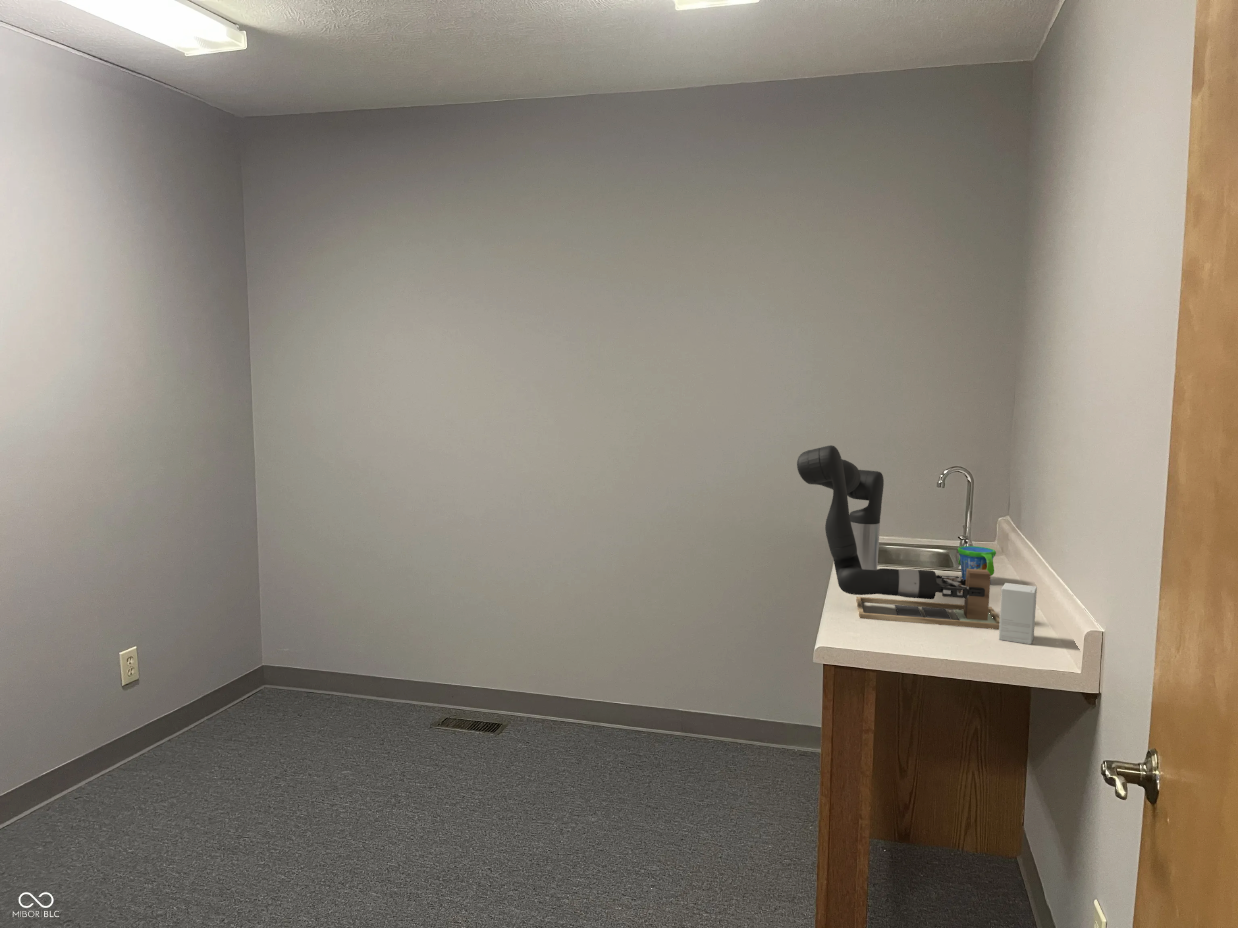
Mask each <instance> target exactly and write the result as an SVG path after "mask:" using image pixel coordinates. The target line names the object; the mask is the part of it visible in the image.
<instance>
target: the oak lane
mask: <svg viewBox="0 0 1238 928" xmlns="http://www.w3.org/2000/svg"><path fill="white" fill-rule="evenodd" d="M855 598H856V599H855V600H856V607H858V608H857V612H859V613H858V616H859V617H860V618H859V619H865V618H866V620H867V619H868V620H878V621H879V620H880V621H892V622H902V623H905V622H906V623H916V624H917V623H918V624H927V625H940V626H941V625H942V626H950V627H951V626H953V627H954V626H955V627H967V628H977V629H988V628H991V630H992V628H993V630H999V623H1000V615H999V614H998V613H997V612H996V610H995V609H994V608H993V606H988V612H989V613H990V615H991V616H992V617H993V619H994V620H995V622H996V623H985V622H973V621H960V619H959V620H957V619H952V620H948V619H935V618H926V617H923V618H922V617H910V616H898V614H897V615H894V614H886V613H885V614H883V613H871V612H870V613H868V612H864V608H863V604H862V603H870V604H871V603H872V604H883V605H893V606H895V605H902V606H915V607H919V608H922V607H928V608H941V609H946V610H948V609H949V610H959V609H963V610H964V604H961V603H960V604H958V603H948V602H947V603H946V602H936V601H934V602H933V601H919V600H909V599H908V600H907V599H906V600H905V599H896V598H895V599H893V598H881V597H870V596H869V597H867V596H858V595H855Z"/></svg>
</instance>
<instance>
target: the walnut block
mask: <svg viewBox="0 0 1238 928" xmlns="http://www.w3.org/2000/svg"><path fill="white" fill-rule="evenodd" d="M991 577H992V576H991V574H990V573H989V572H988V571H987V570H978V569H967V570H966V585H965V586H968V587H979V588H984V589H985V596H984V597H977V596H969V597H967V598H964V601H963V603H964V604H963V605H964V615H965V617H966V618H967V619H978V620H988V607H990V606H989V604H990V603H989V602H990V590H991V588H990V587H991Z"/></svg>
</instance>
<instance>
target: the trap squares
mask: <svg viewBox="0 0 1238 928" xmlns="http://www.w3.org/2000/svg"><path fill="white" fill-rule="evenodd" d="M894 608H895V611H896V614H897V616H910V617H922V618H924V617H923V614H924V616H925V618H935V619H948V620H953V619H952V618H951V616H950V614H949V612H948V611H947V610H948V609H946V608H933V607H921V609H922V611H923V614H922V612H921V610H920V606H907V605H894Z"/></svg>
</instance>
